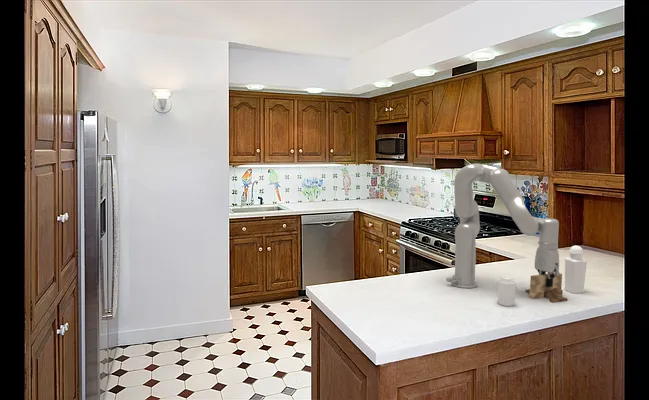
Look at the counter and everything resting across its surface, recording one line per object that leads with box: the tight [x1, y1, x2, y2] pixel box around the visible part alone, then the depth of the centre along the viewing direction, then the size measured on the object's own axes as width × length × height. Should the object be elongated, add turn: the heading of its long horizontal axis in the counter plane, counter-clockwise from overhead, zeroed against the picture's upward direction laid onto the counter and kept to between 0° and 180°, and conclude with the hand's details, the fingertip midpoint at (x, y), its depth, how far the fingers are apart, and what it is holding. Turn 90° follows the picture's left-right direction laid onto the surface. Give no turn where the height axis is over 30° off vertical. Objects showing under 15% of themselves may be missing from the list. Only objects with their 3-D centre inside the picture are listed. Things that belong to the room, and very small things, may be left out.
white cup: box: [496, 278, 518, 307], centre depth 190 cm, size 8×8×10 cm
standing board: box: [525, 288, 568, 304], centre depth 200 cm, size 16×8×5 cm, turn 19°
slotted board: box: [529, 272, 563, 300], centre depth 200 cm, size 16×2×10 cm, turn 109°
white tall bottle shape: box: [564, 245, 588, 294], centre depth 206 cm, size 6×6×22 cm
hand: (546, 285), depth 200 cm, fingers open, 3 cm apart
